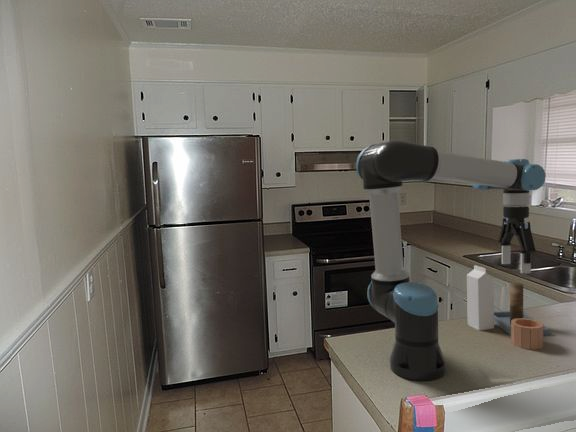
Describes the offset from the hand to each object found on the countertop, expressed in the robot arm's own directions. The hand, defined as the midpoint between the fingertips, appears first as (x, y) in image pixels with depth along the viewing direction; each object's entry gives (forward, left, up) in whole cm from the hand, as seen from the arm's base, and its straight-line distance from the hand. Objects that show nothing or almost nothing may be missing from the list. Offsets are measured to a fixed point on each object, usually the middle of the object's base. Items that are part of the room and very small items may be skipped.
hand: (515, 268), depth 137 cm
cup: (-4, -15, -21) cm, 26 cm away
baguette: (0, 0, -20) cm, 20 cm away
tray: (0, 0, -21) cm, 21 cm away
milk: (-12, 0, -21) cm, 24 cm away
